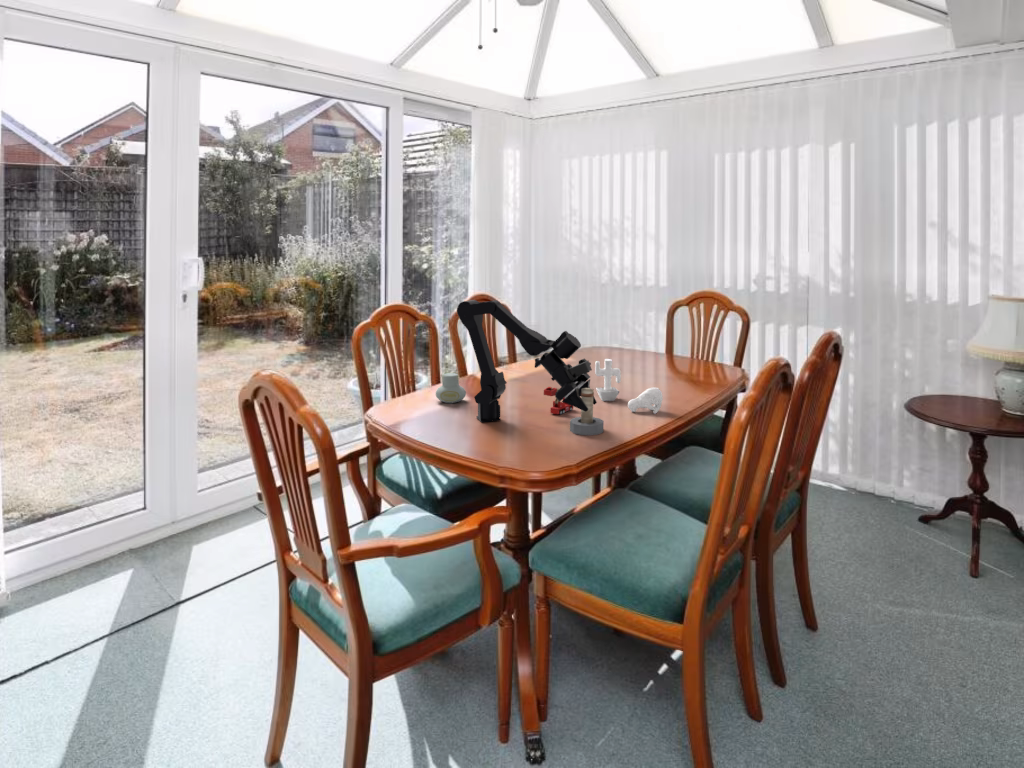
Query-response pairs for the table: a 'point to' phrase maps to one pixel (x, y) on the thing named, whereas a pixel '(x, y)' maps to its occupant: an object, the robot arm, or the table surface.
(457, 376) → the air freshener
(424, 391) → the table surface
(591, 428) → the grey ring
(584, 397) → the birch peg
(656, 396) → the white animal statue
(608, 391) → the figurine
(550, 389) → the toy fire truck
